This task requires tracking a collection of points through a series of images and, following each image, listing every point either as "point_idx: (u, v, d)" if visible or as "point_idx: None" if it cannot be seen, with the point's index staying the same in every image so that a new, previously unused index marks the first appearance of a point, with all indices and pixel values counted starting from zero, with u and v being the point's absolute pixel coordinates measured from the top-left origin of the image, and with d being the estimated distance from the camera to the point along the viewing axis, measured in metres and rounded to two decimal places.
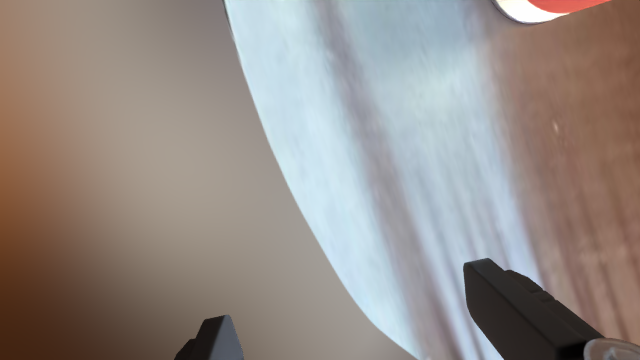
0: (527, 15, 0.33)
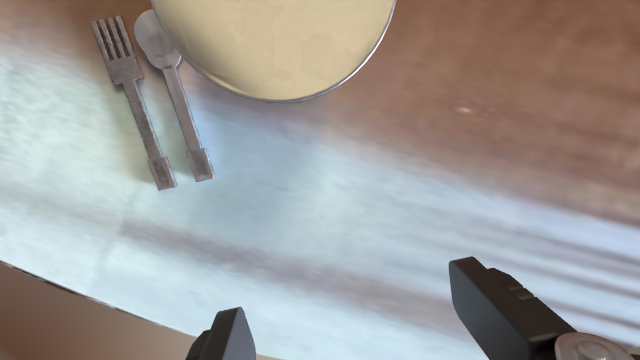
0: None
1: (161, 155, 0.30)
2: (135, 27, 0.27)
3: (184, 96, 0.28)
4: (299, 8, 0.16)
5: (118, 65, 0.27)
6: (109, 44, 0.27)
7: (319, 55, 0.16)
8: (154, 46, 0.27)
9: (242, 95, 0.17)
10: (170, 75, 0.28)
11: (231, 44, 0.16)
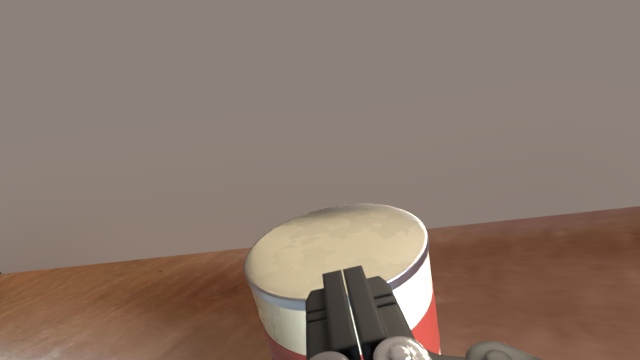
0: None
1: None
2: None
3: None
4: (349, 249, 0.20)
5: None
6: None
7: (363, 268, 0.18)
8: None
9: (285, 298, 0.17)
10: None
11: (289, 270, 0.19)
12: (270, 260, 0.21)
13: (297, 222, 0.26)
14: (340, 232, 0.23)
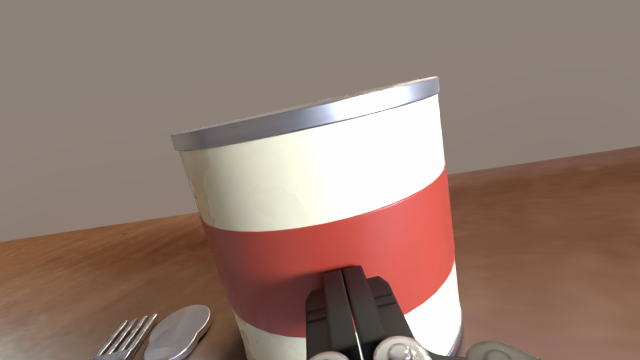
0: None
1: None
2: (162, 320, 0.21)
3: None
4: None
5: None
6: (117, 339, 0.20)
7: None
8: (166, 336, 0.20)
9: (212, 127, 0.10)
10: None
11: (233, 121, 0.13)
12: None
13: None
14: (315, 102, 0.17)
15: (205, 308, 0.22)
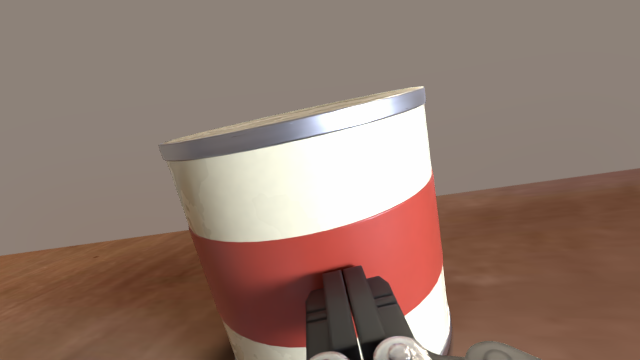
0: None
1: None
2: None
3: None
4: (315, 109, 0.14)
5: None
6: None
7: (338, 106, 0.12)
8: None
9: (212, 136, 0.10)
10: None
11: (226, 130, 0.13)
12: (201, 134, 0.14)
13: None
14: (303, 110, 0.17)
15: None
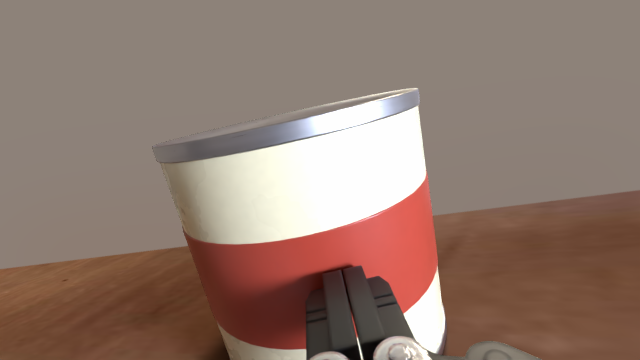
0: None
1: None
2: None
3: None
4: (311, 110, 0.14)
5: None
6: None
7: (335, 107, 0.12)
8: None
9: (210, 137, 0.10)
10: None
11: (222, 131, 0.12)
12: (195, 136, 0.14)
13: (239, 123, 0.20)
14: (297, 112, 0.17)
15: None
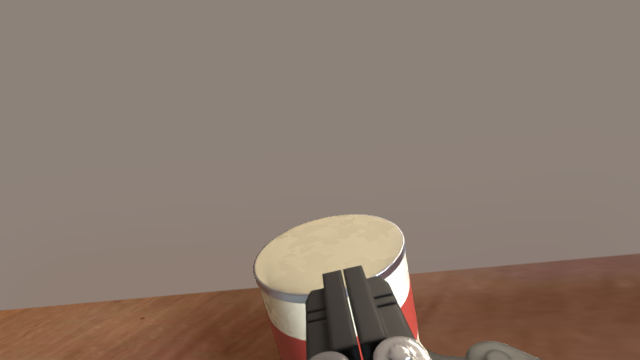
0: None
1: None
2: None
3: None
4: (343, 252, 0.24)
5: None
6: None
7: (359, 265, 0.22)
8: None
9: (300, 294, 0.20)
10: None
11: (297, 273, 0.23)
12: (277, 267, 0.24)
13: (290, 234, 0.30)
14: (332, 239, 0.27)
15: None
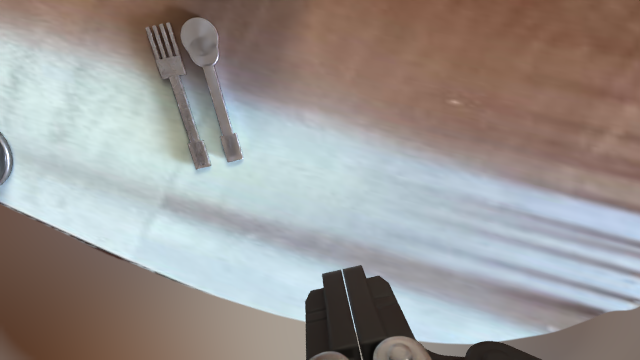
0: None
1: (199, 139, 0.35)
2: (181, 32, 0.32)
3: (220, 89, 0.34)
4: None
5: (166, 63, 0.33)
6: (159, 46, 0.33)
7: None
8: (196, 47, 0.33)
9: None
10: (209, 71, 0.33)
11: None
12: None
13: None
14: None
15: (208, 22, 0.32)
